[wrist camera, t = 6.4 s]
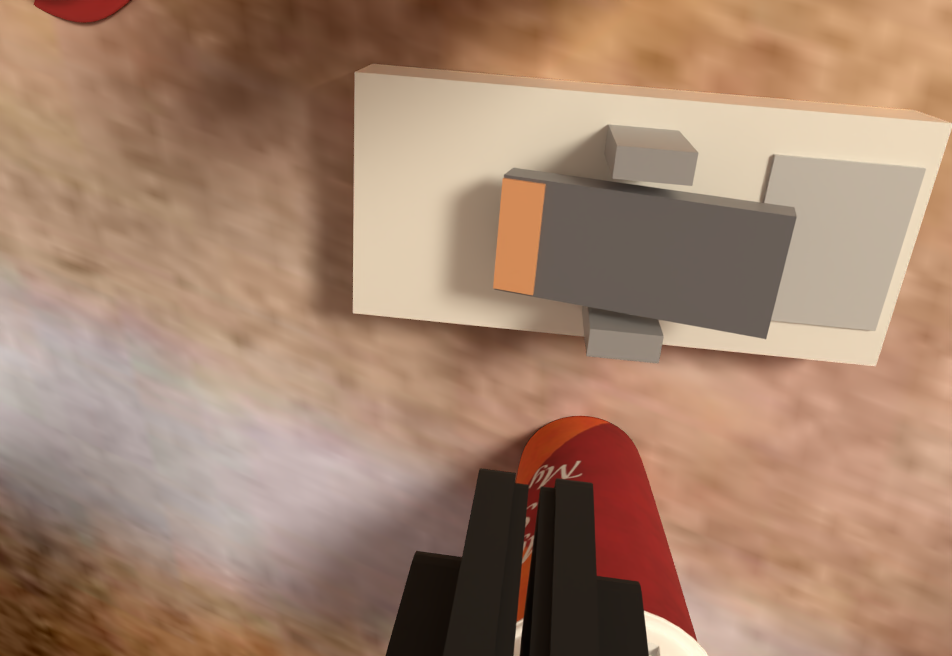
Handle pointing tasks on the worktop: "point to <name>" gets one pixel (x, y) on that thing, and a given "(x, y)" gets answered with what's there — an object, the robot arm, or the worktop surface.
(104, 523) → the worktop surface
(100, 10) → the cayenne pepper
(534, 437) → the paper cup
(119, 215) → the worktop surface
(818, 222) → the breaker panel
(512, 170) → the breaker paddle
